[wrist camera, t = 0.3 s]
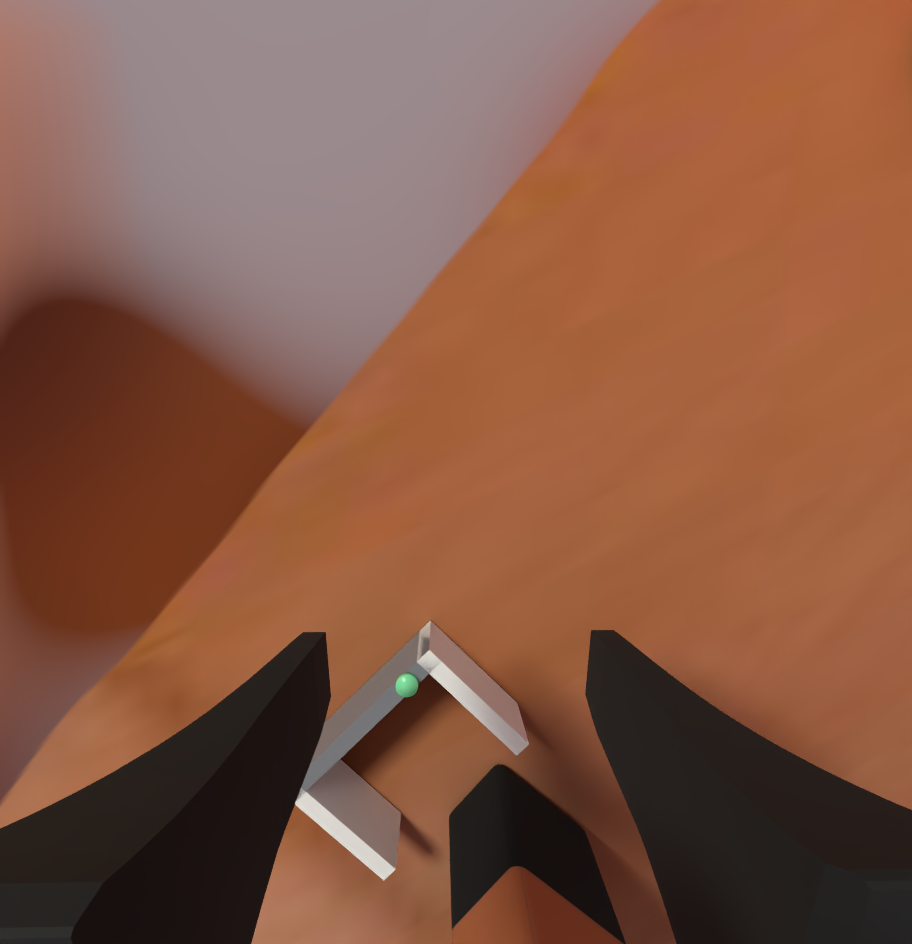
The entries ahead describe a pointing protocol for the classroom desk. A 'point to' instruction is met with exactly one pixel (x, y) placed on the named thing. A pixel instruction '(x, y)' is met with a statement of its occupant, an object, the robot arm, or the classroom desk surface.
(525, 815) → the battery
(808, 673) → the classroom desk surface
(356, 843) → the charging bay
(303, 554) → the classroom desk surface
